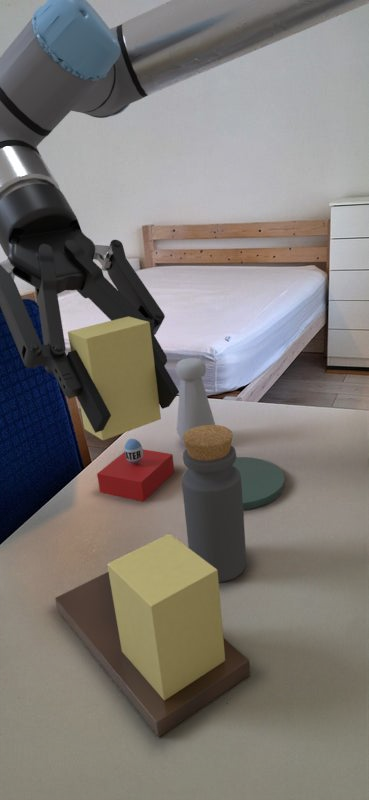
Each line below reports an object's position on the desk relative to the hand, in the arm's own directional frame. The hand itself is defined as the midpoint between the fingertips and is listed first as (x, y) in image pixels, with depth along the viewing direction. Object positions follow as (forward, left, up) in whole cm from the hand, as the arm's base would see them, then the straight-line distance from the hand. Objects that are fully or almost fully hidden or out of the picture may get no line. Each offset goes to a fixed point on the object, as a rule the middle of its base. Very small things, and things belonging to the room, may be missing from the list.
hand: (137, 411), depth 50 cm
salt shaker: (-24, -26, -20) cm, 40 cm away
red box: (-11, -22, -20) cm, 32 cm away
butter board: (+4, +3, -20) cm, 21 cm away
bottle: (-8, -1, -20) cm, 22 cm away
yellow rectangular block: (0, -3, -2) cm, 4 cm away
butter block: (+4, +8, -18) cm, 20 cm away
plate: (-20, -12, -20) cm, 30 cm away
